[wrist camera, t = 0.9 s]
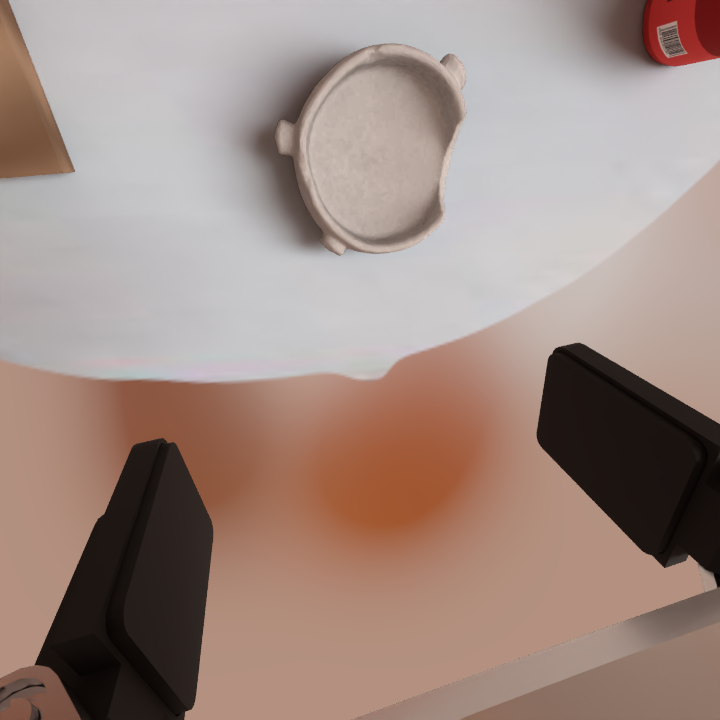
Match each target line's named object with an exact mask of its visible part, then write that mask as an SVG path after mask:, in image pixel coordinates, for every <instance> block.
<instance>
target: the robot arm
mask: <svg viewBox="0 0 720 720" xmlns="http://www.w3.org/2000/svg"><path fill="white" fill-rule="evenodd" d="M537 439H538V442H539V444H540V446H541V447H542V448H543V449H544V450H545V451H546V452H547V453H548V454H549V455H550V457H552V459H553V460H554V461H555V462H556V463H557V464H558V465H559V466H560V467H561V468H562V469H563V470H564V471H565V472H566V473H567V474H568V475H569V476H570V477H571V478H572V479H573V480H574V481H575V482H576V483H577V484H578V485H579V486H580V487H581V488H582V489H583V490H584V492H585V493H586V494H587V495H588V496H589V497H590V498H591V499H592V500H593V501H594V502H595V503H596V504H597V505H598V506H599V507H600V508H601V509H602V510H603V511H604V512H605V513H606V514H607V515H608V516H609V517H610V518H611V519H612V520H613V521H614V522H615V524H617V525H618V527H619V528H621V530H622V531H623V532H624V533H625V534H626V535H627V536H628V537H629V538H630V539H631V540H632V541H633V542H634V543H635V544H636V545H637V546H638V547H639V548H640V549H641V550H642V551H643V552H645V553H646V554H650V555H652V556H653V557H654V558H655V559H656V560H657V561H658V562H659V563H660V564H661V565H662V566H663V567H664V568H666V567H669V566H672V565H675V564H678V563H681V562H683V561H686V559H687V557H688V555H690V556H691V557H692V558H693V559H694V560H696V561H697V562H698V567H699V571H700V575H701V579H702V584H703V587H704V592H705V593H702V594H699V595H696V596H694V597H691V598H688V599H685V600H682V601H679V602H676V603H674V604H671V605H668V606H665V607H662V608H659V609H657V610H654V611H651V612H648V613H645V614H642V615H640V616H637V617H634V618H631V619H628V620H626V621H623V622H620V623H617V624H614V625H612V626H609V627H606V628H603V629H600V630H598V631H595V632H592V633H589V634H587V635H584V636H581V637H578V638H576V639H573V640H570V641H567V642H564V643H562V644H559V645H556V646H553V647H551V648H548V649H545V650H542V651H539V652H537V653H534V654H531V655H528V656H526V657H523V658H520V659H517V660H514V661H512V662H509V663H506V664H503V665H500V666H498V667H495V668H492V669H489V670H487V671H484V672H481V673H478V674H476V675H473V676H470V677H467V678H464V679H462V680H459V681H456V682H453V683H451V684H448V685H445V686H443V687H440V688H437V689H434V690H432V691H429V692H426V693H424V694H421V695H418V696H416V697H413V698H410V699H407V700H404V701H402V702H399V703H396V704H393V705H391V706H388V707H385V708H383V709H380V710H377V711H375V712H372V713H369V714H366V715H364V716H361V717H358V718H355V719H353V720H720V424H719V423H717V422H715V421H713V420H712V419H710V418H708V417H707V416H705V415H703V414H702V413H700V412H698V411H696V410H695V409H693V408H691V407H690V406H688V405H686V404H684V403H683V402H681V401H679V400H678V399H676V398H674V397H672V396H671V395H669V394H667V393H666V392H664V391H662V390H661V389H659V388H657V387H655V386H654V385H652V384H650V383H649V382H647V381H645V380H644V379H642V378H640V377H638V376H637V375H635V374H633V373H632V372H630V371H628V370H626V369H625V368H623V367H621V366H620V365H618V364H616V363H615V362H613V361H611V360H609V359H608V358H606V357H604V356H602V355H601V354H599V353H597V352H596V351H594V350H592V349H591V348H589V347H587V346H586V345H584V344H581V343H574V344H570V345H566V346H561V347H558V348H556V349H555V350H554V351H553V354H552V355H550V356H549V358H548V363H547V369H546V376H545V382H544V389H543V395H542V402H541V409H540V415H539V421H538V428H537ZM212 543H213V526H212V522H211V519H210V517H209V515H208V513H207V510H206V508H205V506H204V504H203V502H202V499H201V497H200V495H199V493H198V491H197V488H196V486H195V484H194V482H193V480H192V478H191V475H190V473H189V471H188V469H187V467H186V465H185V463H184V460H183V458H182V456H181V454H180V451H179V449H178V447H177V445H176V444H175V443H173V442H172V443H167V441H166V440H165V439H163V438H161V439H156V440H152V441H147V442H143V443H138V444H136V445H134V446H133V447H132V449H131V452H130V454H129V456H128V459H127V461H126V464H125V466H124V468H123V471H122V473H121V475H120V478H119V481H118V483H117V485H116V487H115V490H114V492H113V495H112V497H111V500H110V502H109V505H108V507H107V509H106V512H105V514H104V515H102V516H101V517H100V518H99V519H98V521H97V522H96V524H95V526H94V528H93V530H92V532H91V535H90V537H89V540H88V542H87V544H86V547H85V549H84V551H83V554H82V556H81V558H80V560H79V563H78V565H77V567H76V570H75V572H74V574H73V577H72V579H71V581H70V584H69V586H68V588H67V591H66V593H65V595H64V598H63V600H62V602H61V605H60V607H59V609H58V612H57V614H56V616H55V619H54V621H53V623H52V626H51V628H50V630H49V633H48V635H47V637H46V639H45V642H44V644H43V647H42V649H41V651H40V654H39V656H38V658H37V660H36V663H35V665H34V666H29V667H25V668H21V669H18V670H16V671H14V672H12V673H10V674H8V675H6V676H4V677H2V678H0V720H184V717H185V711H188V710H191V709H192V708H193V706H194V703H195V698H196V689H197V681H198V672H199V662H200V653H201V644H202V635H203V626H204V616H205V607H206V598H207V589H208V580H209V571H210V570H209V569H210V561H211V552H212Z"/></svg>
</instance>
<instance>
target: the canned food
mask: <svg viewBox="0 0 720 720" xmlns="http://www.w3.org/2000/svg"><path fill="white" fill-rule="evenodd" d="M643 38H644V43H645V46H646V49H647V51H648V53H649V55H650V56H651V57H652V58H653V59H654V60H655V61H656V62H658V63H660V64H664V65H669V66H681V65H687V64H692V63H697V62H702V61H706V60H711V59H716V58H720V0H648V1H647V5H646V8H645V12H644V18H643Z"/></svg>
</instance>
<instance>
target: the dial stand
mask: <svg viewBox="0 0 720 720" xmlns="http://www.w3.org/2000/svg"><path fill="white" fill-rule="evenodd" d="M68 172H75V170H74V168H73V165H72V162H71V160H70V157H69V155H68V152H67V150H66V147H65V144H64V142H63V139H62V137H61V134H60V132H59V129H58V127H57V124H56V121H55V119H54V116H53V114H52V111H51V109H50V106H49V103H48V101H47V98H46V96H45V93H44V91H43V88H42V86H41V83H40V80H39V78H38V75H37V73H36V70H35V68H34V65H33V63H32V60H31V57H30V55H29V52H28V50H27V47H26V45H25V42H24V39H23V37H22V34H21V32H20V29H19V27H18V24H17V22H16V19H15V16H14V14H13V11H12V9H11V6H10V4H9V1H8V0H0V178H10V177H21V176H33V175H45V174H57V173H68Z"/></svg>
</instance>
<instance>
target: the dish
mask: <svg viewBox="0 0 720 720" xmlns="http://www.w3.org/2000/svg"><path fill="white" fill-rule="evenodd" d="M465 83H466V77H465V71H464V66H463V63H462V62H461V61H460V60H459V59H458V58H457V57H456V56H455V55H454V54H447V55H446V56H445V57H444V58H443V59H442V60H441V61H440V62H439V61H438V60H436V59H435V58H433V57H432V56H430V55H429V54H427V53H425V52H423V51H421V50H418V49H416V48H414V47H411V46H407V45H402V44H380V45H372V46H369V47H366V48H362V49H360V50H358V51H356V52H354V53H352V54H350V55H349V56H347V57H345V58H344V59H342V60H341V61H340V62H338V63H337V64H336V65H335V66H334V67H333V68H332V69H331V70H330V71H329V72H328V73H327V74H326V75H325V76H324V77H323V78H322V79H321V80H320V81H319V83H318V84H317V85H316V86H315V88H314V89H313V91H312V92H311V94H310V95H309V97H308V99H307V100H306V102H305V104H304V106H303V108H302V111H301V113H300V116H299V118H298V120H297V122H296V123H290V122H288V121H286V120H283V119H282V120H280V121H279V123H278V125H277V127H276V129H275V134H274V139H275V141H276V144H277V149H278V152H279V154H282V155H290V156H292V157H293V161H294V167H295V173H296V178H297V182H298V186H299V190H300V193H301V196H302V198H303V201H304V203H305V205H306V207H307V209H308V211H309V213H310V215H311V216H312V218H313V219H314V221H315V222H316V224H317V225H318V226H319V227H320V229H321V230H322V232H323V234H322V237H321V239H320V241H321V243H322V244H323V245H324V246H325V247H326V248H327V249H328V250H329V251H332V252H334V253H335V254H337V255H342V254H343V253H344V251H345V249H347V248H348V249H352V250H355V251H359V252H365V253H373V254H380V253H390V252H396V251H400V250H403V249H406V248H409V247H411V246H413V245H415V244H417V243H419V242H420V241H422V240H423V239H425V238H426V237H427V236H429V235H430V234H431V233H432V232H433V231H434V230H435V229H436V228H437V227H438V226H439V225H440V224H441V223H442V222H443V220H444V217H445V207H444V189H445V182H446V175H447V173H448V169H449V164H450V160H451V156H452V152H453V149H454V146H455V143H456V140H457V136H458V133H459V130H460V128H461V126H462V124H463V121H464V119H465V115H466V113H467V112H466V107H465V102H464V98H463V95H462V93H461V89H463V87H464V86H465Z"/></svg>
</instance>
